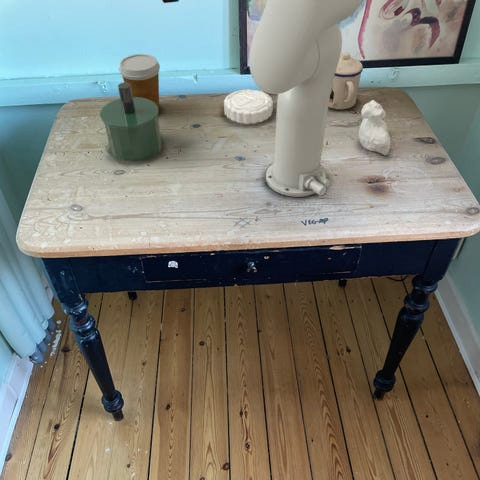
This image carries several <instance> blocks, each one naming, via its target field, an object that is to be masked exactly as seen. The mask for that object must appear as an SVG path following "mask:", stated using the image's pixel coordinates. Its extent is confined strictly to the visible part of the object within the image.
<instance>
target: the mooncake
mask: <svg viewBox="0 0 480 480" xmlns="http://www.w3.org/2000/svg"><path fill="white" fill-rule="evenodd" d="M273 109H274V102H273V98H272V97H271V96H270V94H269V93H267V92H265V91H263V90H258V89H251V88H250V89H249V88H246V89H239V90H235V91H234V92H230V93H229V94H228V95H227V96H225V98H224V100H223V112H224V116H226V118H227V119H229V120H231V121H232V122H237V123H238V124H245V125H246V124H247V125H248V124H257V123H262V122H263V121H265V120H268V119H269V117H270V118H271V116H272V114H273V111H274V110H273Z"/></svg>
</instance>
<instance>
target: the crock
mask: <svg viewBox="0 0 480 480" xmlns="http://www.w3.org/2000/svg"><path fill="white" fill-rule="evenodd" d="M158 116H159V115H158ZM158 116H157V117H156V118H155V120H153V121H152V122H151V123H149V124H147V125H144V126H141V127H138V128H132V129H118V128H113V127H110V126H108V125H106V124H105V123H104V127H105V131H106V135H107V140H108V144H109V145H108V146H109V149H110V153H111V155H112V156H114V157H115V158H116V159H118V160H120V161H123V162H134V163H135V162H142V161H146V160H149V159H151V158H154V157H155V156H156V155H158V154H159V153H160V151H161V149H162V147H163V145H162V136H161V131H160V124H159V117H158Z"/></svg>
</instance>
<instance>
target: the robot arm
mask: <svg viewBox="0 0 480 480" xmlns="http://www.w3.org/2000/svg"><path fill="white" fill-rule="evenodd" d="M161 1H162V3H164V4H170V3H178V2H179V1H180V0H161ZM363 1H364V0H267V1H266V3H265V7H264V9H263V12H262V15H261V17H260V18H259V19H260V20H259V22H258V25H257V28H256V29H255V33H254V36H253V38H252V41H251V44H250V48H249V53H248V54H249V55H248V65H249V72H250V75H251V78H252V80H253V82H254V83H255V84H256V86H257V87H258V88H259V89H260V91H262V92H264V93H266V94H269V95H270V94H271V95H277V103H276V116H275V117H276V119H275V135H274V136H275V137H274V157H273V163H272V164H271V165H270V166H269V167H268V168H267V170H266V173H265V179H266V184H267V185H268V186H269V188H270V189H272V190H273V191H274V192H276V193H278V194H281V195H283V196H287V197H293V198H302V197H308V196H311V195H314V194H317V195H318V196H320V197H321V196H324V195H325V193H326V192H327V188H328V187H329V186H330V184H331V180H329V179H328V178H327V174H326V171H325V170H324V166H323V165H322V164H321V161H322V155H323V148H324V147H323V146H324V139H325V132H326V126H327V125H326V124H327V118H328V113H329V112H328V111H329V107H328V105H329V98H330V92H331V87H332V83H333V79H334V75H335V72H336V69H337V65H338V62H339V59H340V56H341V55H342V47H343V36H342V35H343V34H342V31H341V30H342V29H341V28H340V27H341V26H340V25H339V24H340V23H342V22H344V21H345V20H347V19H348V18H350V17H351V16H352V15H354V14H355V13H356V12H357V11H358V9H359V8H360V7H361V6H362V4H363Z"/></svg>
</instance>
